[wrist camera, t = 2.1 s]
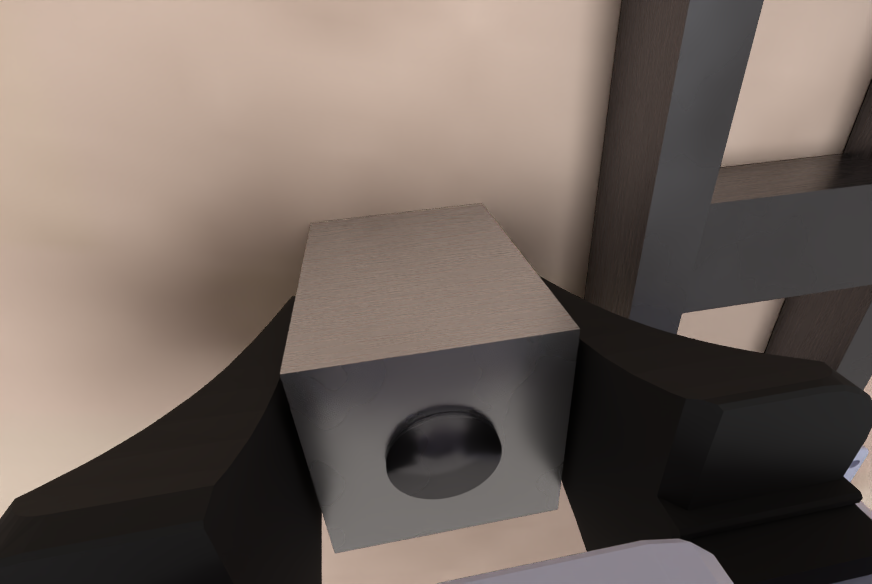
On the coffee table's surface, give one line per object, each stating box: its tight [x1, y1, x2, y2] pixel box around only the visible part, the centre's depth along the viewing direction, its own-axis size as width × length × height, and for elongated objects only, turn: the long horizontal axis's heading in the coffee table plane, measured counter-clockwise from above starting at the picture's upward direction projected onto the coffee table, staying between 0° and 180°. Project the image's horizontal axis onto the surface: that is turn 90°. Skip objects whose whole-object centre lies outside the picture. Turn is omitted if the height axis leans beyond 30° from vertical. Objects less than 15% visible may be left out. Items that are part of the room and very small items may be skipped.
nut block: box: [280, 203, 580, 553], centre depth 10 cm, size 4×4×6 cm
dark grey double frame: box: [584, 0, 872, 390], centre depth 12 cm, size 18×9×2 cm, turn 3°
